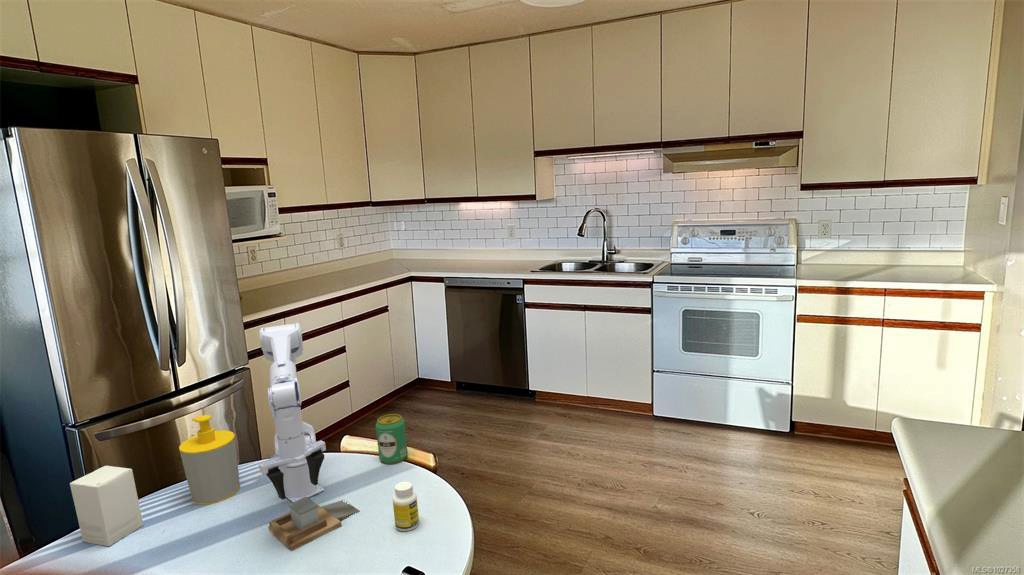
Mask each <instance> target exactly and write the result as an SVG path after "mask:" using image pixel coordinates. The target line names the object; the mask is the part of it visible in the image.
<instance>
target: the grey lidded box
mask: <svg viewBox="0 0 1024 575" xmlns="http://www.w3.org/2000/svg"><path fill="white" fill-rule="evenodd" d="M317 504H318V503H316V502H314V501H313V500H312V499H310V497H308V498H307V497H304V498H301V499H299V500H297V501H295V502H292V501H291V503H288V507H289V511H290V512H291V518H292V524H293V525H294V526H295V527H297V528H298V529H299V530H302V529H304V528H306V527H308V526H310V525H312V524H314V523H316V522H318V521H319V517H318V510H317V508H318V505H319V504H318V505H317ZM290 512H289V513H290Z"/></svg>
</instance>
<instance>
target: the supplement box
mask: <svg viewBox="0 0 1024 575" xmlns="http://www.w3.org/2000/svg"><path fill="white" fill-rule="evenodd" d="M69 486H70V491H71V495H72V496H71V497H72V499H73V503H74V507H75V508H74V509H75V512H76V517H77V521H78V525H79V530H80V535H81V538H82V542H84V543H88V544H95V545H100V546H103V547H104V546H105V547H110V546H112V545H115V543H117V542H118V541H120V540H122V539H124V538H125V537H126V536H128V535H131V534H132V533H133V532H134V531H137V530H138V529H140V528H141V527H143V526H144V522H143V518H142V513H141V511H142V510H141V507H140V503H139V497H138V496H139V495H138V492H137V487H136V483H135V478H134V472H133V469H132V468H127V467H120V466H111V465H104V466H102V467H100V468H97V469H96V470H94V471H92V472H90V473H87V474H85V475H84V476H81V477H79V478H77V479H75V480H73V481H72V482H69Z"/></svg>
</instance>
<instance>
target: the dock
mask: <svg viewBox="0 0 1024 575" xmlns="http://www.w3.org/2000/svg"><path fill="white" fill-rule="evenodd" d="M343 500H344V499H342V500H338V501H336V502H332V503H329V504H326V505H322V506H320V505H319V504H318V503H316V504H317V505H318V508H317V510H318V517H319V521H318V522H316V523H314V524H312V525H310V526H308V527H306V528H304V529H302V530H299V529H298V528H297V527H295V526H294V525H293V524H292V518H291V512H288V513H286V514H284V515H281V516H279V517H278V518H275V519H273V520H270V521H269V522H268V524H269V525H268V531H269V532H270V533H271V532H272V533H273V534H272V533H271V534H272V535H273V536H274V537H275V538H276V539H278V540H279V541H280V542H281V543H282V542H283V543H284V545H285V546H286V548H288V549H289V550H290V551H291V552H293V551H295V550H296V549H298V548H301V547H302V546H304V545H306V544H308V543H310V542H313V541H314V540H316V539H318V538H320V537H322V536H324V535H326V534H328V533H329V532H332V531H334V530H335V529H338V528H340V527H341V526H342V521H341V520H344V519H348V518H350V517H352V516H354V515H356V514H358V513H360V512H361V510H359V509H358V508H356V507H355V506H353V505H352V504H351V503H349V504H347V503H348V501H346V503H345V502H343ZM355 513H356V514H355ZM353 514H354V515H353ZM351 515H352V516H351ZM349 516H350V517H349ZM347 517H348V518H347ZM283 543H282V544H283ZM292 550H293V551H292Z"/></svg>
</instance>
